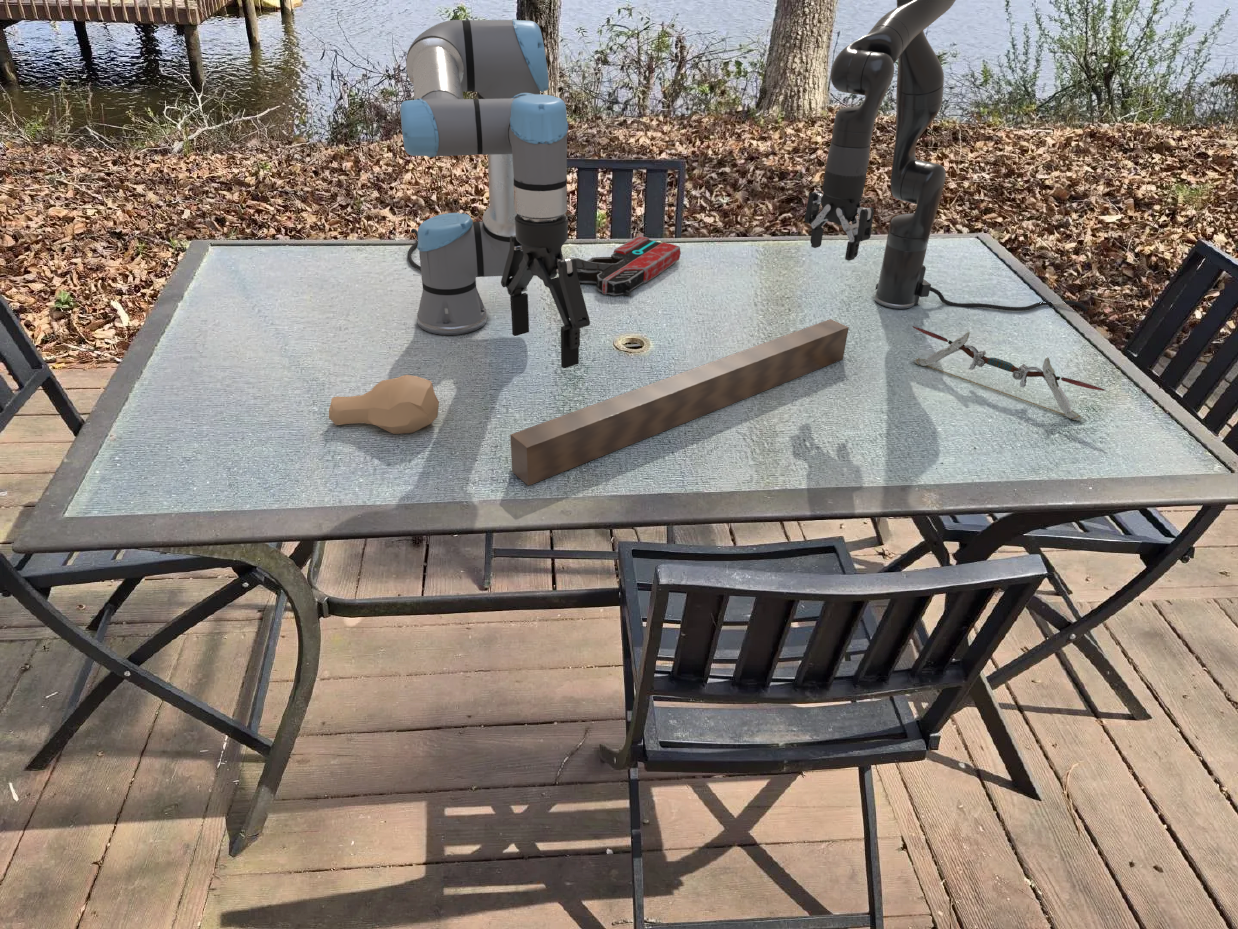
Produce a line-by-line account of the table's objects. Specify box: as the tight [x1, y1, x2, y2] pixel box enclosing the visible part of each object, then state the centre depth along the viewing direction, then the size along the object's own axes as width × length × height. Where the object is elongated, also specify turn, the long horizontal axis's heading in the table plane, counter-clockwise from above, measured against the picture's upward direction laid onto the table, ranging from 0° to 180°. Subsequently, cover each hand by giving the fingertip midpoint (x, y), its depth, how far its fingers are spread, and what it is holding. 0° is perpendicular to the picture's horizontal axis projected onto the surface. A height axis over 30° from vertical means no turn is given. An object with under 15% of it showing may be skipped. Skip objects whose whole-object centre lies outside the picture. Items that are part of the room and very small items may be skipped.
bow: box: [912, 325, 1106, 421], centre depth 173 cm, size 39×2×10 cm, turn 47°
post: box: [509, 318, 850, 486], centre depth 165 cm, size 80×5×8 cm, turn 128°
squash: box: [328, 374, 440, 435], centre depth 157 cm, size 11×20×9 cm, turn 90°
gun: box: [574, 235, 682, 297], centre depth 223 cm, size 4×31×19 cm
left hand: (544, 349), depth 136 cm, fingers open, 13 cm apart
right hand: (832, 253), depth 171 cm, fingers open, 8 cm apart
